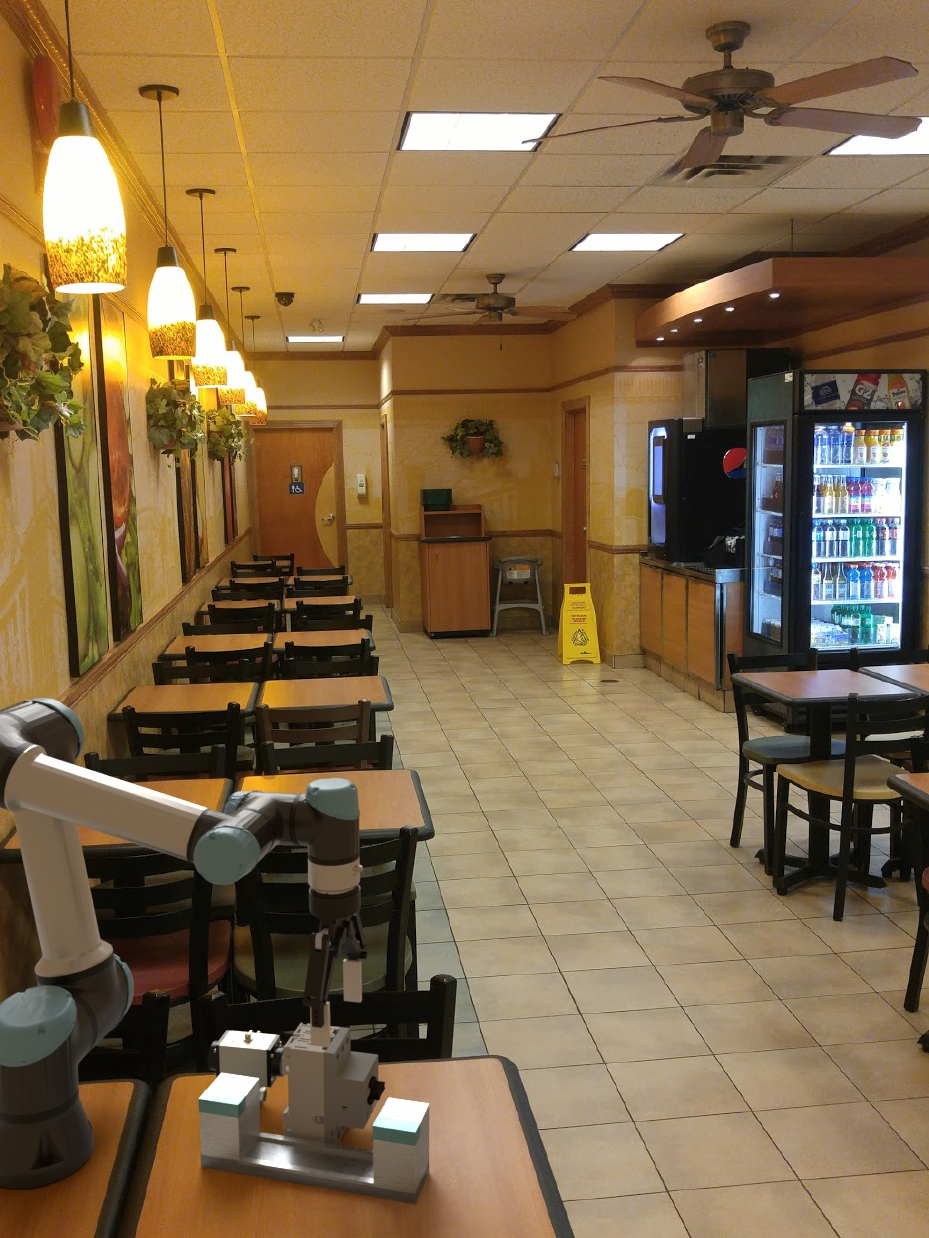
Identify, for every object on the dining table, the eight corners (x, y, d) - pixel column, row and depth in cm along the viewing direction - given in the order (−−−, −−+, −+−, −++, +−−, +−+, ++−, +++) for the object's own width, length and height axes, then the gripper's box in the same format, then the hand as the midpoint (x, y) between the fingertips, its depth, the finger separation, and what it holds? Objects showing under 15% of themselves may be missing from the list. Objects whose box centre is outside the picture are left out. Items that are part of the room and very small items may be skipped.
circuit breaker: (375, 1154, 159) (375, 1058, 157) (283, 1141, 162) (281, 1047, 160) (389, 1124, 166) (388, 1032, 164) (300, 1113, 169) (299, 1022, 167)
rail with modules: (200, 1167, 155) (198, 1098, 154) (222, 1138, 162) (221, 1072, 161) (415, 1204, 148) (415, 1132, 146) (429, 1172, 155) (429, 1102, 153)
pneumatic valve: (280, 1116, 168) (279, 1044, 166) (208, 1109, 170) (206, 1037, 168) (291, 1096, 173) (290, 1026, 172) (221, 1089, 175) (219, 1019, 173)
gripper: (328, 921, 146) (331, 1069, 149) (385, 858, 170) (387, 986, 173) (276, 916, 148) (280, 1062, 150) (340, 854, 172) (342, 981, 174)
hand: (337, 1022), depth 161 cm, fingers open, 13 cm apart
